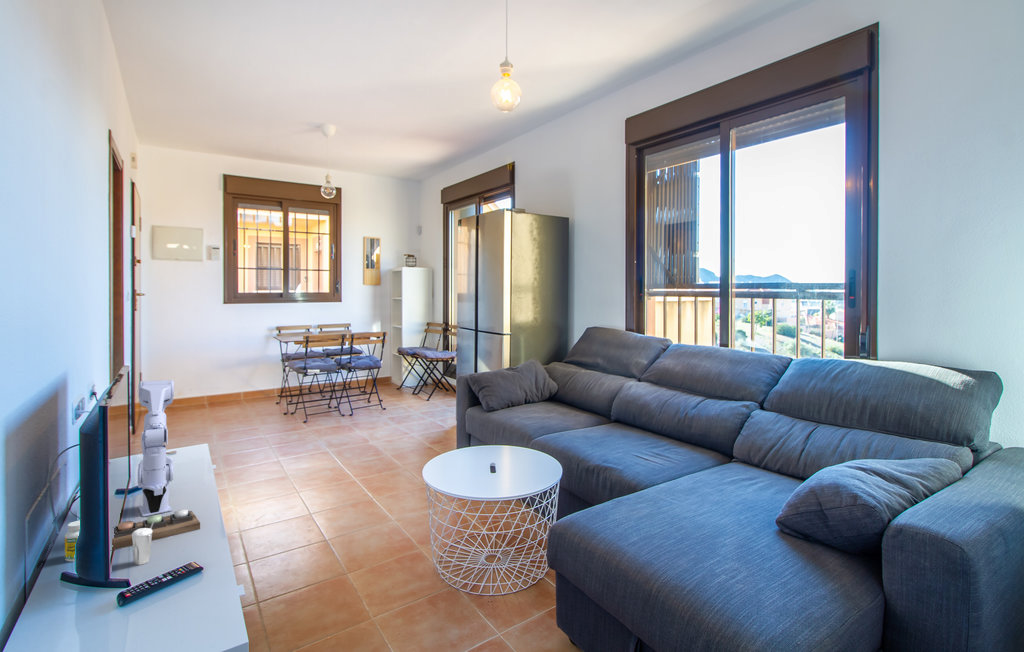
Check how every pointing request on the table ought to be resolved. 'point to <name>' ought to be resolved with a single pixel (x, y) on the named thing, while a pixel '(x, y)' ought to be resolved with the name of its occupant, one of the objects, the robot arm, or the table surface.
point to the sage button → (154, 519)
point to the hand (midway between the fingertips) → (154, 511)
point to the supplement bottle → (71, 540)
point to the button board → (157, 529)
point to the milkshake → (142, 545)
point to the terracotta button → (125, 525)
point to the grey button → (180, 513)
